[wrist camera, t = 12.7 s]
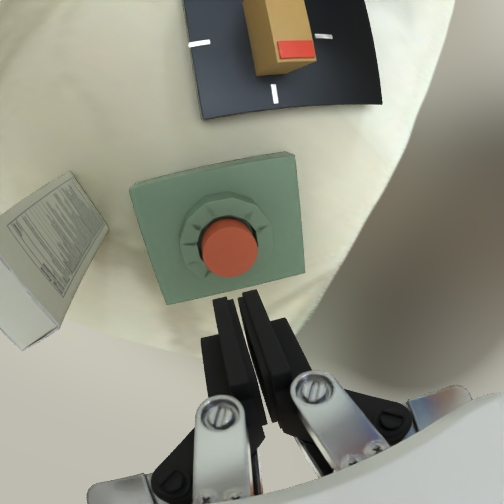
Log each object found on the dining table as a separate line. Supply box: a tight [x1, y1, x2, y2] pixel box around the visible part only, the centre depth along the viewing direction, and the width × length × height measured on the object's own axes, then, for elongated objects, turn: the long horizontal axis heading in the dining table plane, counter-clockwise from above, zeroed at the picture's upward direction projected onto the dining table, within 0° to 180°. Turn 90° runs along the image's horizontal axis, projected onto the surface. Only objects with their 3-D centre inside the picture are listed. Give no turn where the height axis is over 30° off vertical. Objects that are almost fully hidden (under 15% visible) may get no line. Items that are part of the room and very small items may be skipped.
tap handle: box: [242, 0, 316, 76], centre depth 13 cm, size 6×2×5 cm, turn 9°
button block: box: [129, 152, 305, 305], centre depth 21 cm, size 12×10×4 cm
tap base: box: [182, 0, 382, 120], centre depth 16 cm, size 14×11×3 cm
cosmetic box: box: [0, 171, 109, 351], centre depth 15 cm, size 6×4×12 cm
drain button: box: [202, 218, 258, 277], centre depth 19 cm, size 4×4×2 cm
